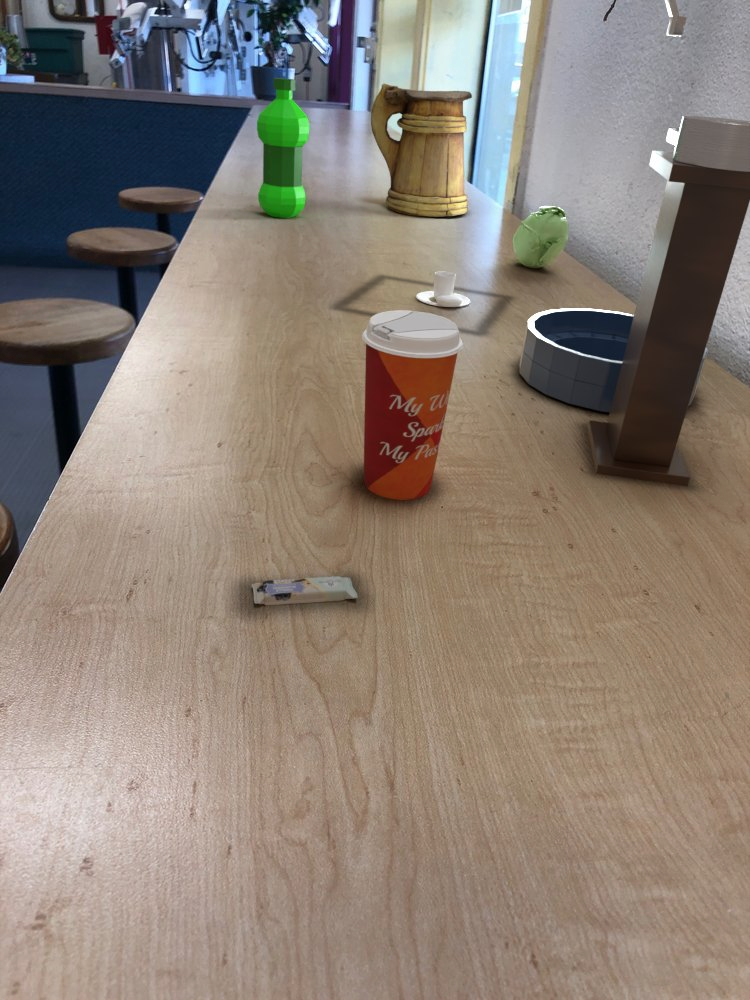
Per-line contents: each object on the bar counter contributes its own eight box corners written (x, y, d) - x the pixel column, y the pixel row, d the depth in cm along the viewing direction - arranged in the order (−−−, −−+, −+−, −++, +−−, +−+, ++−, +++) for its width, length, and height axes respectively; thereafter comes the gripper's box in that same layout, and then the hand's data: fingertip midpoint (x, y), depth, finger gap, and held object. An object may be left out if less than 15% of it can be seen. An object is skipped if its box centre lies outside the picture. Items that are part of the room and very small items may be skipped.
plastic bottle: (287, 210, 167) (290, 77, 155) (316, 220, 160) (322, 82, 148) (247, 213, 161) (246, 75, 149) (275, 223, 155) (277, 80, 142)
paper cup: (391, 519, 61) (410, 346, 54) (332, 478, 66) (342, 315, 59) (462, 493, 66) (488, 330, 59) (402, 456, 71) (419, 303, 64)
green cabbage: (487, 264, 138) (497, 199, 133) (527, 258, 145) (537, 196, 140) (541, 281, 131) (554, 213, 125) (580, 274, 138) (594, 208, 132)
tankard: (472, 221, 173) (489, 94, 161) (365, 213, 171) (374, 84, 159) (461, 206, 189) (476, 89, 176) (363, 199, 187) (371, 80, 175)
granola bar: (351, 583, 53) (352, 571, 53) (357, 604, 51) (358, 591, 51) (251, 589, 52) (251, 576, 51) (253, 610, 50) (253, 597, 49)
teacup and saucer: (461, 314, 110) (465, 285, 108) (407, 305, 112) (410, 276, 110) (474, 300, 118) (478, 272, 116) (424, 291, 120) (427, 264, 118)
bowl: (675, 367, 98) (688, 320, 95) (708, 431, 81) (725, 376, 78) (518, 347, 100) (526, 300, 97) (518, 406, 83) (528, 351, 80)
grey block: (713, 145, 76) (722, 111, 74) (781, 175, 56) (795, 129, 55) (639, 138, 76) (647, 103, 75) (681, 165, 57) (692, 119, 55)
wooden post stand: (667, 441, 78) (750, 160, 65) (686, 489, 70) (786, 175, 57) (586, 430, 79) (652, 150, 66) (595, 476, 70) (672, 163, 57)
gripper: (856, -107, 80) (808, 48, 87) (652, -122, 82) (621, 32, 89) (881, -119, 75) (827, 48, 82) (662, -134, 77) (627, 30, 84)
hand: (718, 39), depth 85 cm, fingers open, 8 cm apart
